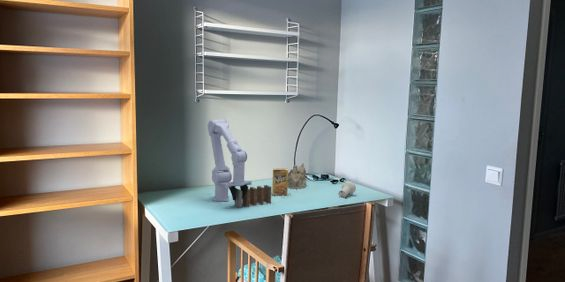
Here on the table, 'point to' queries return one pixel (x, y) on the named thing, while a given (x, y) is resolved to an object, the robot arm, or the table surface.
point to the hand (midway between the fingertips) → (238, 199)
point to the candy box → (280, 181)
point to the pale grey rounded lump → (347, 189)
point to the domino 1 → (238, 199)
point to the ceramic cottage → (297, 177)
